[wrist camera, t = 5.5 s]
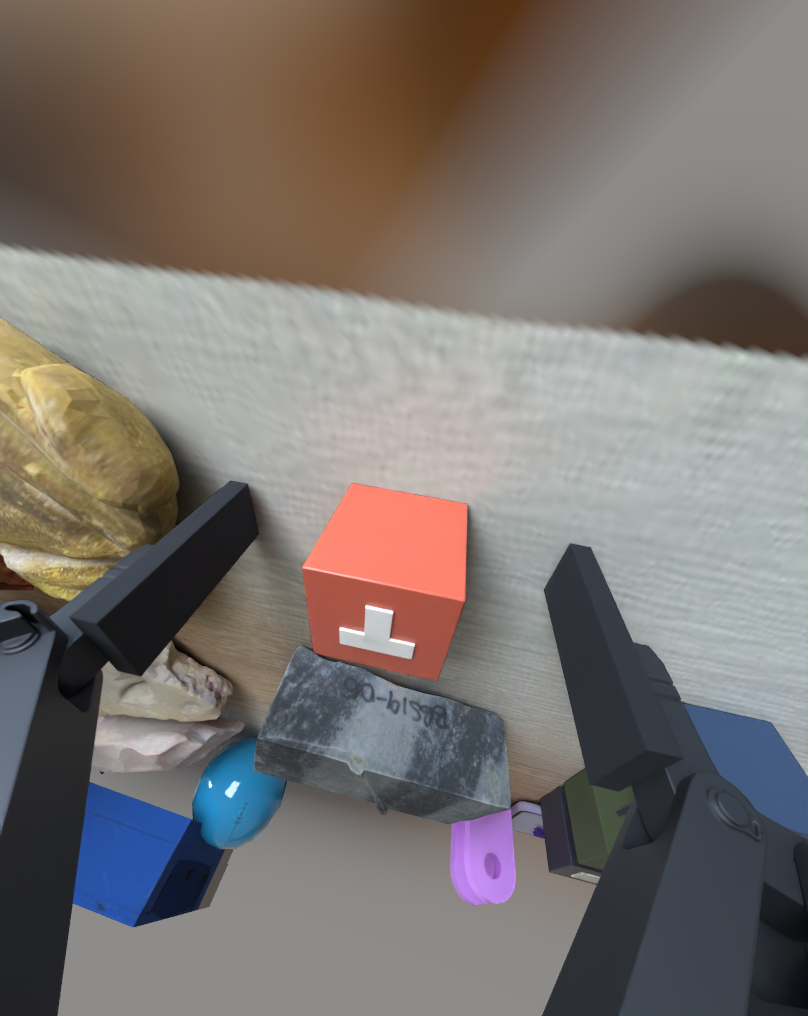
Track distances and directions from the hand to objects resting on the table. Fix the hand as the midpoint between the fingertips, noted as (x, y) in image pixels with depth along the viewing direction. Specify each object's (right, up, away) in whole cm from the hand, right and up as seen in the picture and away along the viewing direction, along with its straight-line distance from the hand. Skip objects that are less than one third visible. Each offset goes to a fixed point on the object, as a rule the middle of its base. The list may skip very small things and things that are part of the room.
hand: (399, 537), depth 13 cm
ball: (-17, -27, +21) cm, 38 cm away
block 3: (+17, -11, +5) cm, 21 cm away
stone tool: (-14, -17, +12) cm, 25 cm away
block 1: (+15, -24, +15) cm, 32 cm away
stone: (-19, -9, +11) cm, 23 cm away
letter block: (0, 0, 0) cm, 0 cm away
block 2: (+16, -20, +11) cm, 28 cm away
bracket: (+3, -25, +18) cm, 31 cm away
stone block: (-1, -13, +10) cm, 16 cm away
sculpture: (-10, -1, 0) cm, 10 cm away
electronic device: (-18, -32, +16) cm, 40 cm away
